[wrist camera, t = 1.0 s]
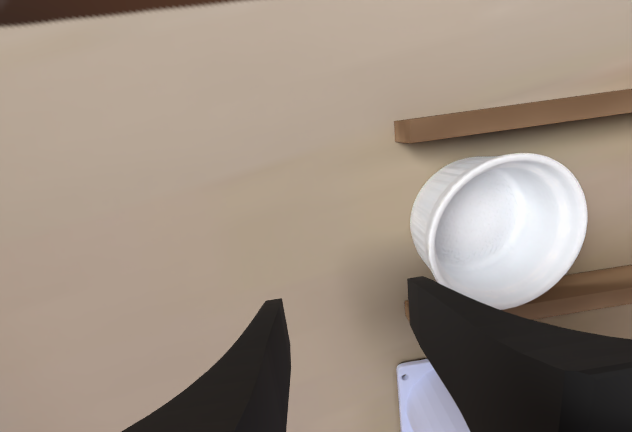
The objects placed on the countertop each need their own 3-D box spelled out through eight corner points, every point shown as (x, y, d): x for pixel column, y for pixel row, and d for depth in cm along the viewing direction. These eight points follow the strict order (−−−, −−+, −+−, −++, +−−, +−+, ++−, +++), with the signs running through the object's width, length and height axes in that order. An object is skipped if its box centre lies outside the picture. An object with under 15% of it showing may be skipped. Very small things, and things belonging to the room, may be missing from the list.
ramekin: (529, 135, 19) (595, 137, 15) (529, 262, 22) (586, 293, 18) (392, 164, 19) (420, 173, 15) (408, 288, 22) (436, 326, 17)
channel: (670, 273, 23) (714, 289, 20) (405, 315, 22) (419, 338, 20) (709, 78, 19) (770, 70, 17) (394, 121, 18) (409, 119, 16)
